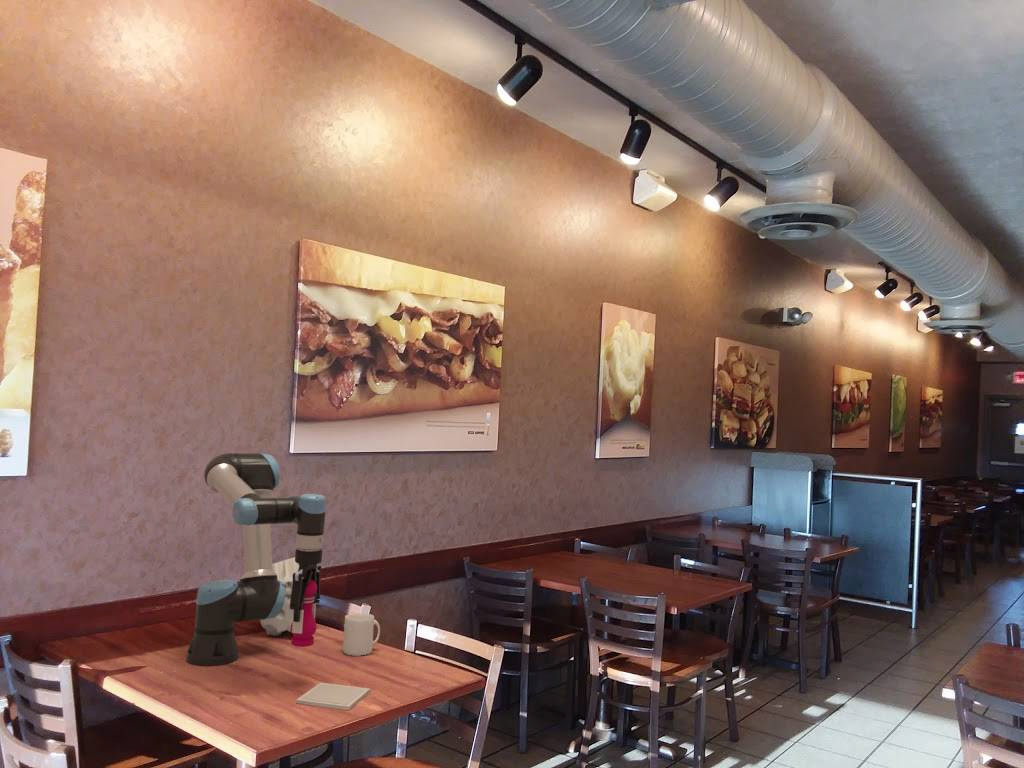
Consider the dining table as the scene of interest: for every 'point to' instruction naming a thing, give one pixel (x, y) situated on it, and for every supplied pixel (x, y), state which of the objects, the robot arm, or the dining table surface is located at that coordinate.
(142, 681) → the dining table surface
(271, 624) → the white sculpture
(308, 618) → the pepper mill
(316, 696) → the plate
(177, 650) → the dining table surface
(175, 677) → the dining table surface
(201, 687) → the dining table surface
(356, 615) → the mug
